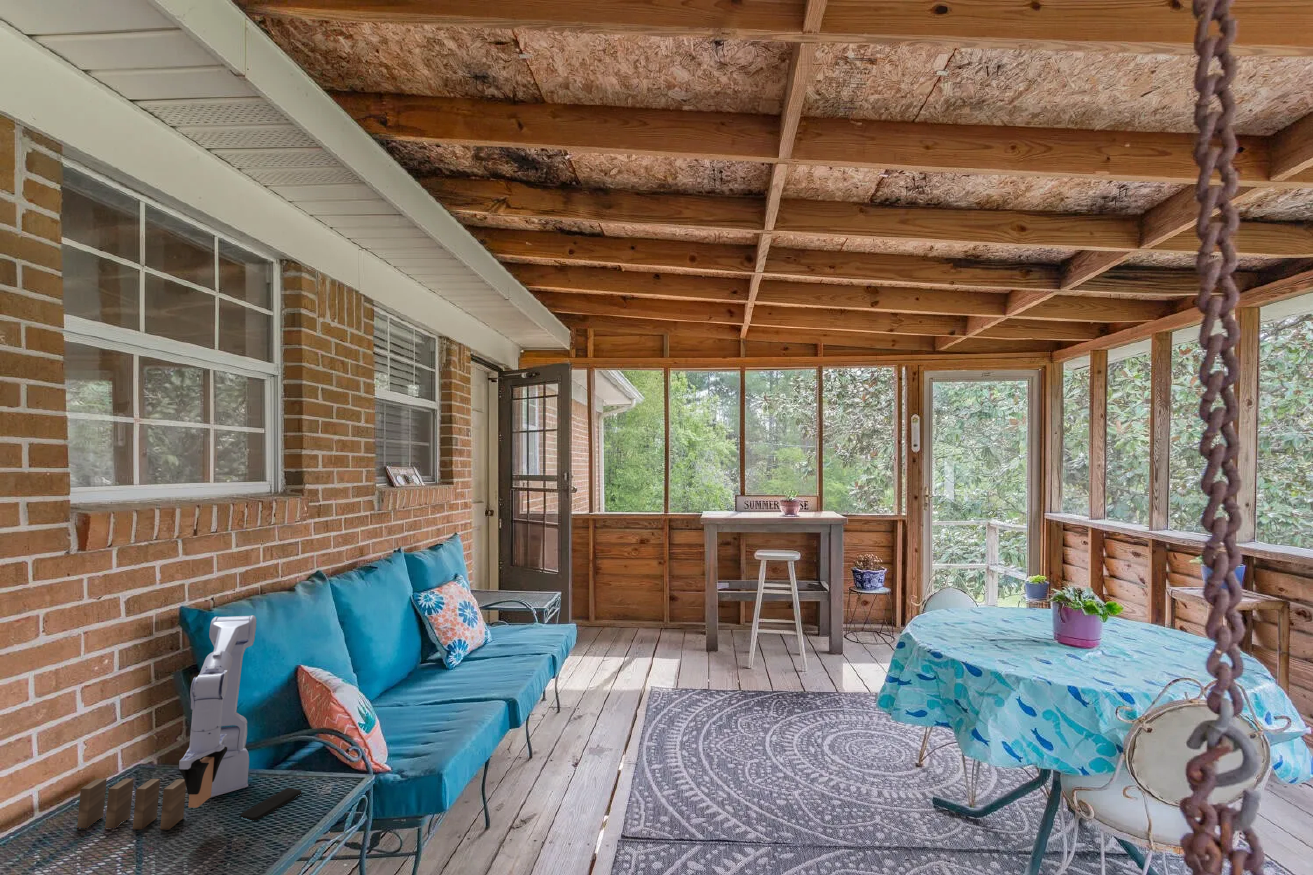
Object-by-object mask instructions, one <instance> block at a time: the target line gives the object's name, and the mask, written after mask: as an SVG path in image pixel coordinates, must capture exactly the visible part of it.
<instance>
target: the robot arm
mask: <svg viewBox="0 0 1313 875" xmlns="http://www.w3.org/2000/svg"><path fill="white" fill-rule="evenodd" d="M256 630H257V617H256V616H255V614H254V615H252V614H251V615H239V616H238V615H237V616H236V615H235V616H214V617H213V618H212V619H211V621H210V626H209V634H208V635H209V639H210V641H211V644H212V645H213V651H212V652H210V653H209V654H207V656H206V657H205V659H204V661H203V665H202V666H201V670H200V672H199V674H198V675H197V676H194V677H193V679H192V681H191V685H190V691H189V693H190V710H192V711H191V712H192V714H191V726H190V734H189V735H190V737H189V738H190V739H189V747H188V748H187V750H186V752H185V754H184V755H183V757H182V758H181V759H179V763H178V765H177V766H178V767H177V770H178V771H179V773H180V774H181V775H182V777H183V779H184V780H185V784H186V792H187V795H189V794H196V795H197V794H198V793H199V792H200V789H201V784H202V779H203V775H204V772H205V770H206V768H207V766H208V764H209V763H201V761H200V760H201V759H203V758H204V757H214V766H213V778H212V791H211V797H210V798H211V799H212V798H214V797H217V796H221V795H223V794H228V793H230V792H234V791H237V790H241V789H245V788H247V787H249V784H248V780H249V778H248V777H249V769H250V768H249V767H250V756H249V751H248V750H247V748H246V744H247V736H248V720H247V718H246V717H245V716H244V715H241V714H240V713H238V712H237V710H238V700H239V693H240V692H239V691H240V684H241V674H242V666H243V660H244V659H243V658H244V654H245V651H246V649H247V648H249V647H252V646H253V645H254V642H255V638H256ZM210 798H209V799H210Z"/></svg>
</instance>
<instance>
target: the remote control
mask: <svg viewBox="0 0 1313 875" xmlns="http://www.w3.org/2000/svg"><path fill="white" fill-rule="evenodd" d="M300 794H302V790H301V789H296V788H293V787H292V788H291V787H288V788H284V789H283V790H281V791H279V792H278V793H275V794H274V795H272V796H270V797H268V798H266V799H265V800H262V801H261V802H259V803H257V804H255V805H254V806H251V807H250V808H248V809H247V810H244V811H243V812H241V813H240V816H241V817H243V818H247V819H250V820H257V821H259V820H261V819H262V818H264V817H266V816H267V815H269V814H271V813H273V812H275V811H276V810H278V809H280V808H282V807H283V806H285V805H287V804H288V803H290V802H292V801H294V800H295V799H296V798H295V797H296V796H298V795H300ZM294 798H295V799H294ZM293 799H294V800H293ZM289 801H290V802H289ZM286 803H287V804H286ZM284 804H285V805H284ZM279 807H280V808H279ZM277 808H278V809H277ZM275 809H276V810H275ZM272 811H273V812H272ZM270 812H271V813H270ZM265 815H266V816H265ZM263 816H264V817H263ZM261 817H262V818H261ZM260 818H261V819H260ZM258 819H259V820H258Z"/></svg>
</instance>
